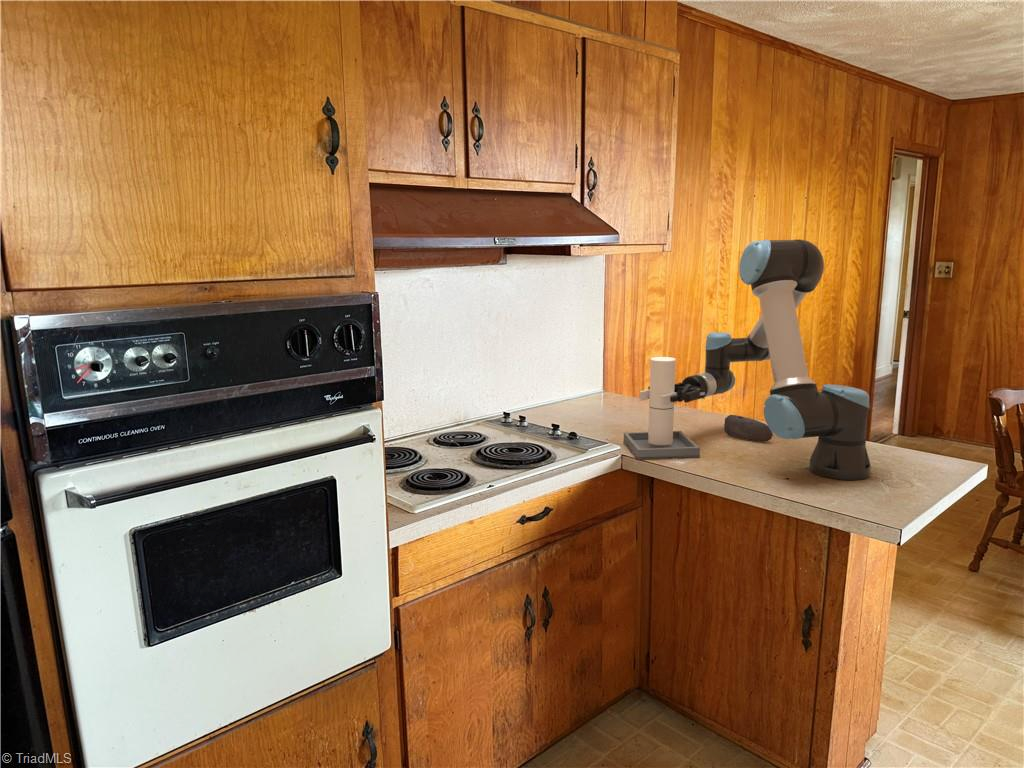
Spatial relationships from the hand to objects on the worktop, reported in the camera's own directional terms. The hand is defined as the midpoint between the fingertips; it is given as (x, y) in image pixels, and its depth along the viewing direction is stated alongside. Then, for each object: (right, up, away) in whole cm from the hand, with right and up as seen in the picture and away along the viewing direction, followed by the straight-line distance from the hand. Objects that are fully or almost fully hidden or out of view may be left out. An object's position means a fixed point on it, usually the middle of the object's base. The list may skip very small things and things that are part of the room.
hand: (651, 398), depth 210 cm
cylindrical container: (+4, -13, +6) cm, 15 cm away
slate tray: (+4, -15, +7) cm, 17 cm away
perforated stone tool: (+33, -13, +16) cm, 39 cm away
